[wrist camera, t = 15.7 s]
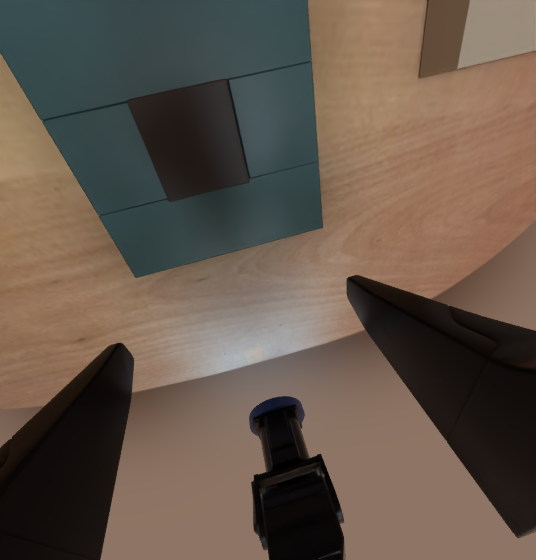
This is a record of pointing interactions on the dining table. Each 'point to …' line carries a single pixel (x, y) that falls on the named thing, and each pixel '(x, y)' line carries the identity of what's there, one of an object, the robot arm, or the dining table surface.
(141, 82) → the teal three-hole plate
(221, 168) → the block
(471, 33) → the electrical outlet
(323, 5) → the dining table surface
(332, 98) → the dining table surface
